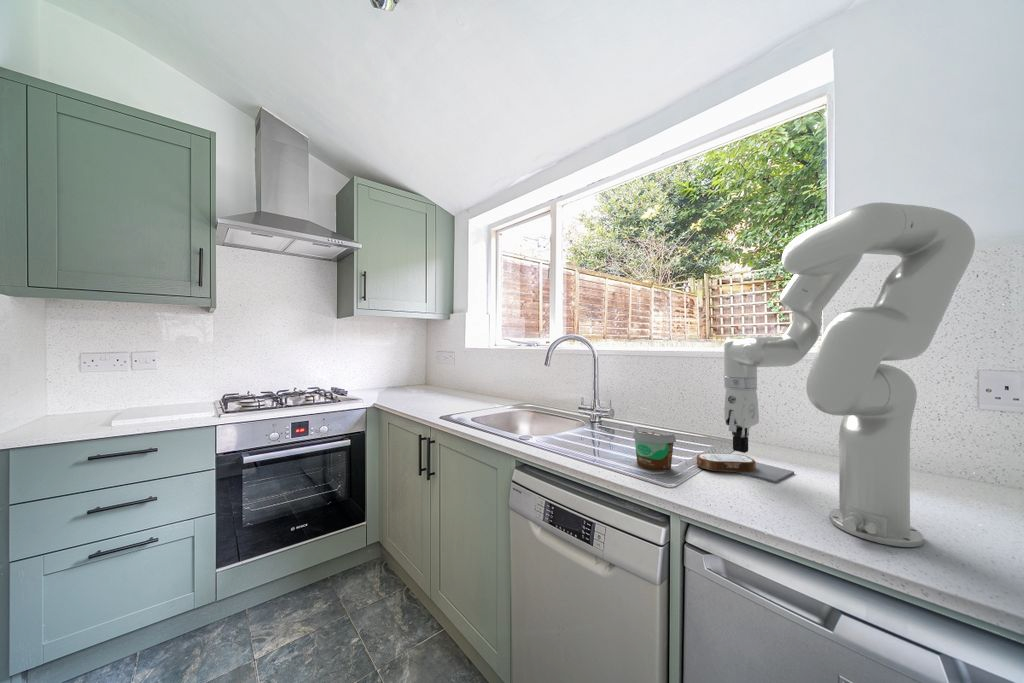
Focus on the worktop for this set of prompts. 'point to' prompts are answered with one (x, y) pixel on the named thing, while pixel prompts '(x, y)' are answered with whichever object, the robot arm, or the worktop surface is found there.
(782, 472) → the mat
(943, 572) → the worktop surface
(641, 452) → the food container
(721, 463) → the tin
